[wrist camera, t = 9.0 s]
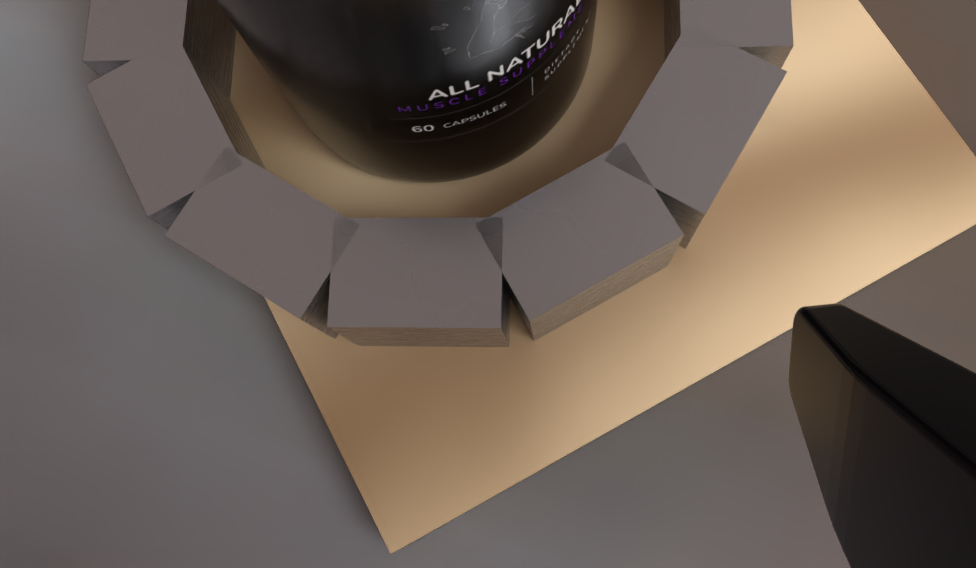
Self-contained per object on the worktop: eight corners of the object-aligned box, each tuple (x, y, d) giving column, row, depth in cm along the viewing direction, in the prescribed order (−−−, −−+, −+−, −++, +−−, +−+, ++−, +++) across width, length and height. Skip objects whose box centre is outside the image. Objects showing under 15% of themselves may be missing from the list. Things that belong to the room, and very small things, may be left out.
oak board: (991, 215, 18) (1010, 204, 17) (398, 550, 17) (390, 554, 16) (558, -369, 22) (558, -400, 21) (72, -110, 21) (53, -132, 20)
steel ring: (890, 142, 17) (941, 91, 15) (306, 468, 17) (264, 468, 15) (559, -314, 20) (559, -416, 18) (59, -46, 20) (-7, -115, 18)
